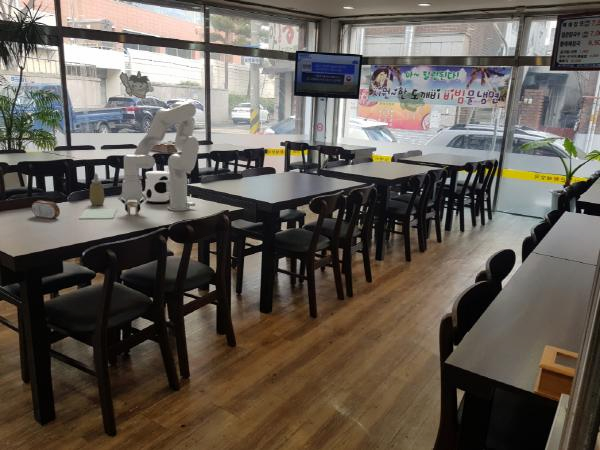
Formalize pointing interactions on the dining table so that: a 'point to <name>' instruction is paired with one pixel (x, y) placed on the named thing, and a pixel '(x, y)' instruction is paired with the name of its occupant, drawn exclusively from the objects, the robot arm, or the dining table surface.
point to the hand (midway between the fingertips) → (132, 211)
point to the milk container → (157, 186)
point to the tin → (45, 209)
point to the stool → (132, 204)
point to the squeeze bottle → (96, 192)
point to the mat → (98, 214)
